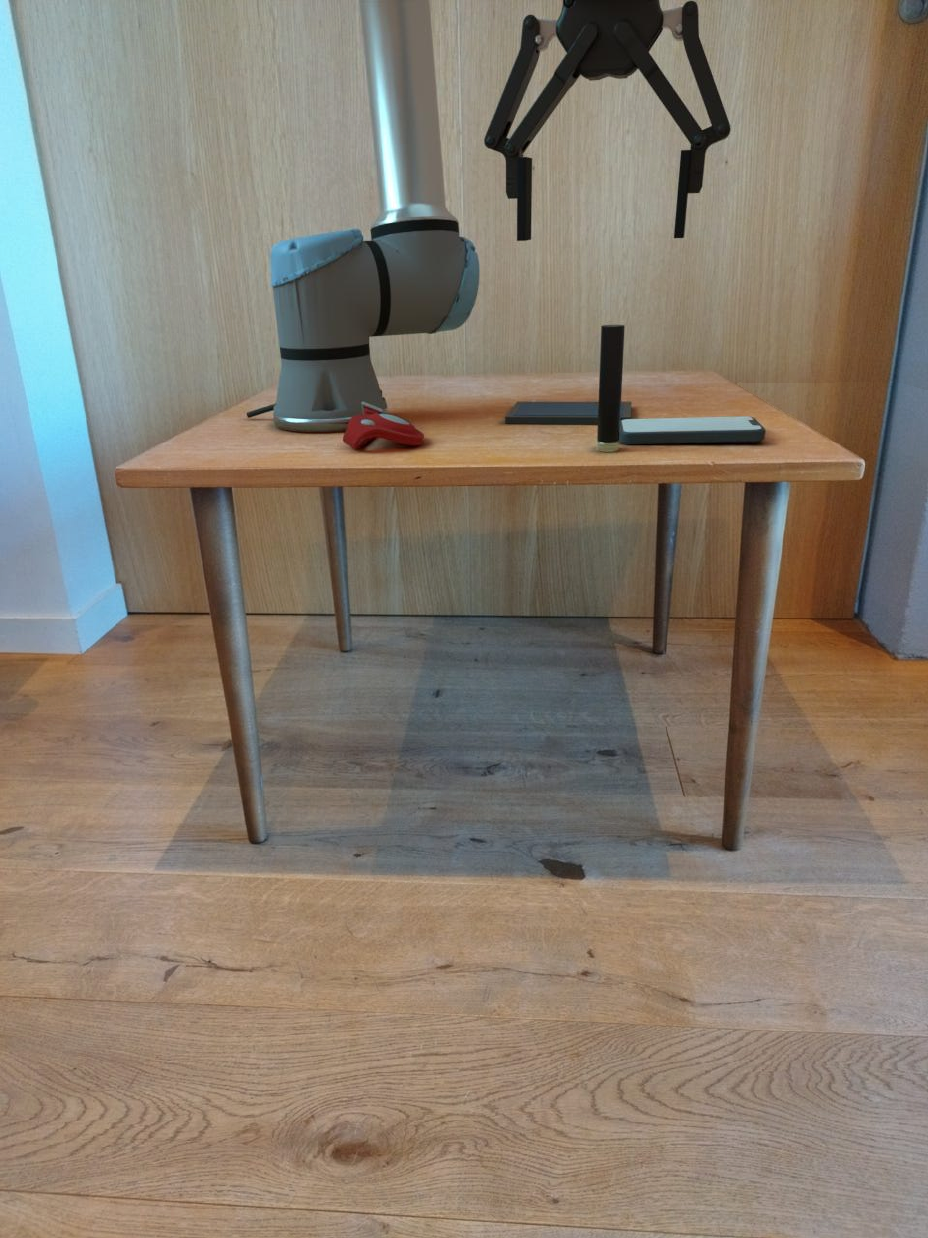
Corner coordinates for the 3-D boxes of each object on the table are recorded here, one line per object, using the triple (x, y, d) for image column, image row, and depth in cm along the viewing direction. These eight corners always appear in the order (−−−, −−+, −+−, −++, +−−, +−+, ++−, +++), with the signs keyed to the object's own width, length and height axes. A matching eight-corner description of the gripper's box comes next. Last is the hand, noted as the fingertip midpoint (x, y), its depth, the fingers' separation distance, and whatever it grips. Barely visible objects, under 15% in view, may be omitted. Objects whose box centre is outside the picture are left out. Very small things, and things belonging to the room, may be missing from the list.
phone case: (619, 447, 93) (766, 444, 90) (619, 433, 92) (768, 429, 90) (617, 431, 101) (752, 428, 98) (617, 418, 100) (753, 415, 98)
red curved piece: (443, 431, 96) (383, 424, 89) (432, 467, 98) (372, 463, 90) (376, 398, 103) (315, 389, 95) (367, 432, 105) (306, 425, 97)
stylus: (592, 450, 90) (597, 326, 85) (603, 446, 92) (608, 324, 87) (612, 453, 89) (618, 326, 84) (622, 448, 91) (628, 324, 85)
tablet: (505, 423, 106) (505, 416, 106) (517, 407, 117) (517, 400, 116) (630, 424, 103) (631, 416, 103) (631, 408, 114) (631, 401, 113)
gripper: (443, -63, 63) (452, 242, 72) (790, -103, 56) (749, 238, 66) (469, -38, 69) (474, 239, 78) (783, -71, 63) (746, 234, 72)
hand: (599, 239), depth 72 cm, fingers open, 13 cm apart
